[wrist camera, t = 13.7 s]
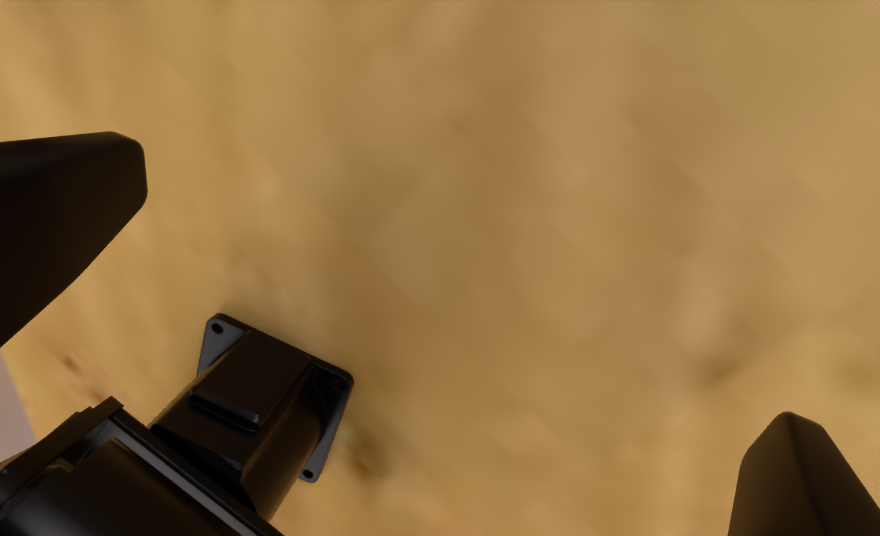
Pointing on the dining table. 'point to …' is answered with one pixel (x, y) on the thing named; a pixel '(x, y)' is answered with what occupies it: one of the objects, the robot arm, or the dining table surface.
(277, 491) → the robot arm
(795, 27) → the dining table surface
